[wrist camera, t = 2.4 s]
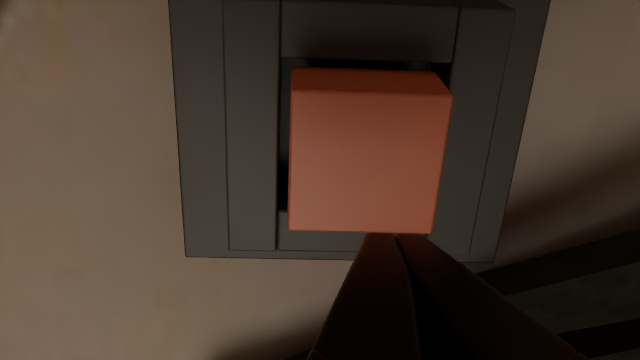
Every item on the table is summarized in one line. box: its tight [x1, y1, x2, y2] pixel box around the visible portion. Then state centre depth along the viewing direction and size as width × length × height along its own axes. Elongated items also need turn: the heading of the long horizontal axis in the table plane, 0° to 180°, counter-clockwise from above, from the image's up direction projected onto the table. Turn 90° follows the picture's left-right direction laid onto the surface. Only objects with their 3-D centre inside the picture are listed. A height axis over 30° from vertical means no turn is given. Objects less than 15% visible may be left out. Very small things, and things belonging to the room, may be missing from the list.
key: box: [287, 66, 453, 234], centre depth 13 cm, size 3×3×2 cm
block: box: [168, 0, 551, 263], centre depth 15 cm, size 9×9×4 cm
